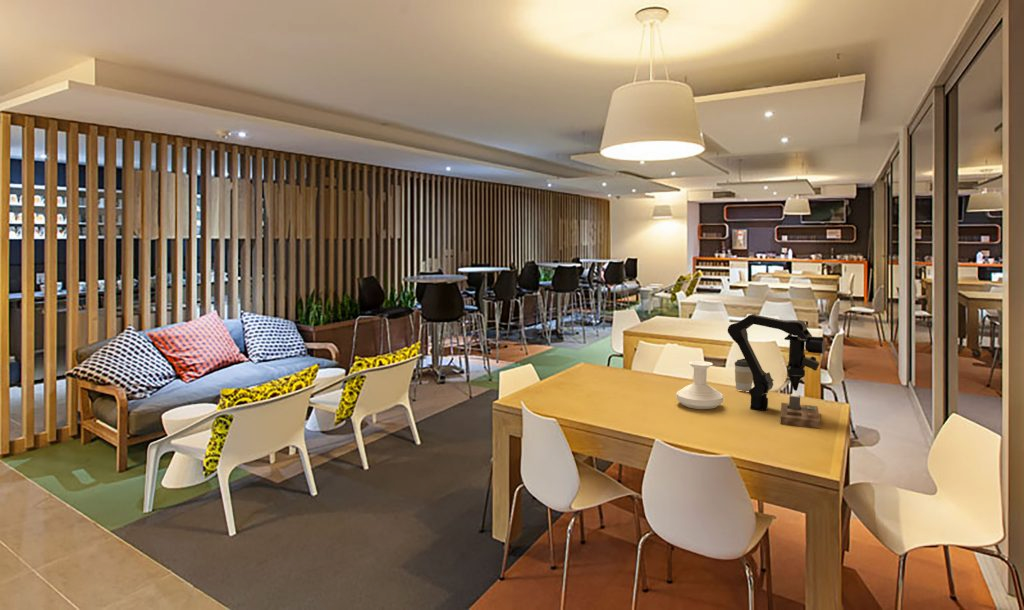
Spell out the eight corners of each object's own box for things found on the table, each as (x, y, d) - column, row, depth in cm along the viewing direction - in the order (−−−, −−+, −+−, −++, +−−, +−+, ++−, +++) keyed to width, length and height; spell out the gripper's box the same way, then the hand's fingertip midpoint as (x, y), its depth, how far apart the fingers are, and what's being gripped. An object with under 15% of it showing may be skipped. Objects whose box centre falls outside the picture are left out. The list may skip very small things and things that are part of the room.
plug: (788, 415, 247) (789, 395, 246) (788, 412, 251) (789, 393, 250) (799, 416, 246) (800, 396, 245) (799, 413, 249) (800, 394, 248)
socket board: (780, 423, 236) (780, 415, 236) (781, 409, 256) (781, 401, 255) (819, 428, 230) (820, 419, 230) (817, 413, 250) (817, 404, 250)
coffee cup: (754, 393, 282) (755, 362, 281) (733, 391, 285) (734, 361, 284) (752, 388, 291) (754, 358, 289) (733, 387, 294) (734, 357, 292)
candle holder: (706, 415, 249) (707, 370, 246) (666, 405, 264) (667, 362, 262) (732, 406, 261) (733, 363, 259) (692, 397, 277) (693, 356, 274)
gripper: (819, 356, 233) (818, 395, 235) (817, 348, 250) (816, 384, 252) (788, 354, 238) (787, 392, 240) (788, 346, 255) (787, 382, 257)
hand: (795, 387), depth 247 cm, fingers open, 9 cm apart
